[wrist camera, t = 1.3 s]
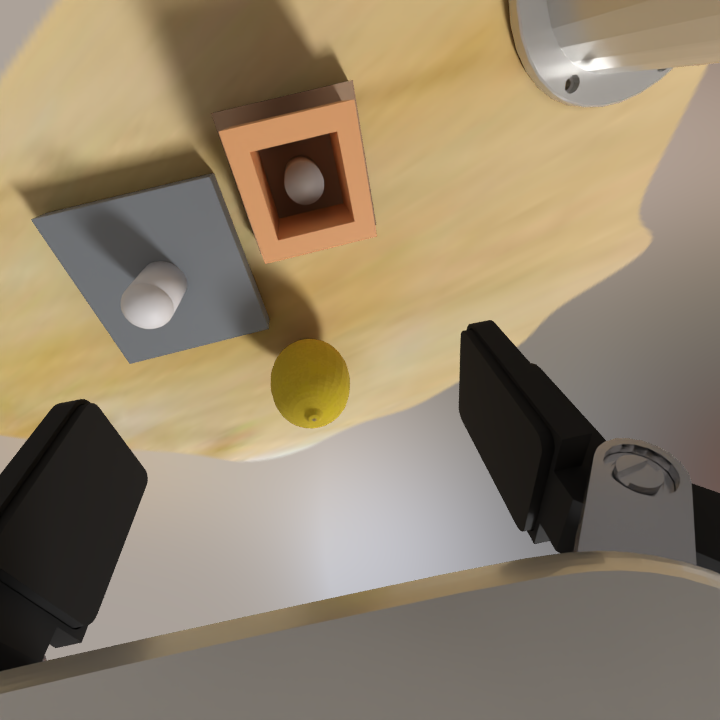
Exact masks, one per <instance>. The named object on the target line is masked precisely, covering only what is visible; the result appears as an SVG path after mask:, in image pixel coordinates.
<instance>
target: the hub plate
mask: <svg viewBox="0 0 720 720" xmlns="http://www.w3.org/2000/svg"><path fill="white" fill-rule="evenodd" d="M31 220H32V222H33V223H34V225H35V226H36V228H37V229H38V231H39V232H40V234H41V235H42V237H43V238H44V239H45V241H46V242H47V244H48V245H49V247H50V248H51V250H52V251H53V253H54V254H55V255H56V257H57V258H58V260H59V261H60V263H61V264H62V266H63V267H64V269H65V270H66V272H67V273H68V274H69V276H70V277H71V279H72V280H73V282H74V283H75V285H76V286H77V288H78V289H79V290H80V292H81V293H82V295H83V296H84V298H85V299H86V301H87V302H88V304H89V305H90V307H91V308H92V309H93V311H94V312H95V314H96V315H97V317H98V318H99V320H100V321H101V323H102V324H103V326H104V327H105V328H106V330H107V331H108V333H109V334H110V336H111V337H112V339H113V340H114V342H115V343H116V344H117V346H118V347H119V349H120V350H121V352H122V353H123V355H124V356H125V358H126V359H127V361H128V362H129V363H130V364H131V363H135V362H139V361H143V360H147V359H151V358H155V357H159V356H163V355H167V354H171V353H175V352H179V351H183V350H187V349H191V348H195V347H199V346H203V345H207V344H211V343H214V342H218V341H222V340H226V339H230V338H234V337H238V336H242V335H246V334H250V333H254V332H258V331H262V330H266V329H269V316H268V314H267V311H266V309H265V306H264V303H263V301H262V298H261V295H260V293H259V290H258V288H257V285H256V282H255V280H254V277H253V274H252V272H251V269H250V267H249V264H248V261H247V259H246V256H245V253H244V251H243V248H242V246H241V243H240V240H239V238H238V235H237V232H236V230H235V227H234V225H233V222H232V219H231V217H230V214H229V211H228V209H227V206H226V204H225V201H224V198H223V196H222V193H221V190H220V188H219V185H218V183H217V180H216V177H215V175H214V173H211V174H207V175H203V176H199V177H194V178H190V179H186V180H182V181H178V182H174V183H169V184H165V185H161V186H157V187H153V188H149V189H144V190H140V191H136V192H132V193H128V194H124V195H119V196H115V197H111V198H107V199H103V200H99V201H94V202H90V203H86V204H82V205H78V206H74V207H69V208H65V209H61V210H57V211H53V212H49V213H45V214H43V215H40V216H38V217H36V218H34V219H31Z"/></svg>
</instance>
